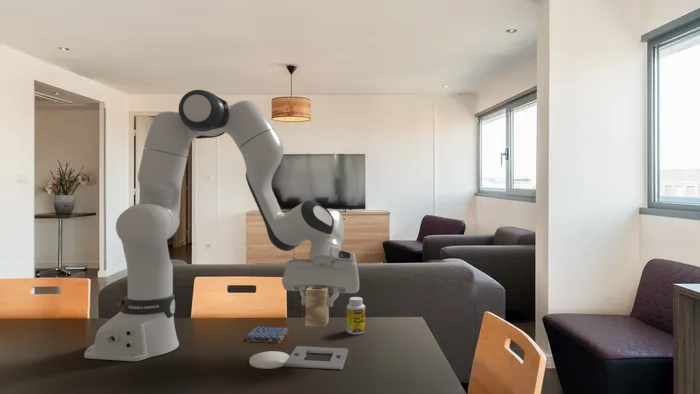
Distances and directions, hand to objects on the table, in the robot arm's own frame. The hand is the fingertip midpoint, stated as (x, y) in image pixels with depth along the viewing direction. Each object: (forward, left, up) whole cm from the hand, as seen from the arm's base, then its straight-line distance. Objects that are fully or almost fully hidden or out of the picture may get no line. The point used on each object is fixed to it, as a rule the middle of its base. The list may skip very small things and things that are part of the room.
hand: (317, 304), depth 111 cm
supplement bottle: (+11, +22, -14) cm, 28 cm away
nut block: (0, +1, -5) cm, 5 cm away
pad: (-12, 0, -14) cm, 18 cm away
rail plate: (0, +1, -14) cm, 14 cm away
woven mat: (-15, +19, -15) cm, 28 cm away
